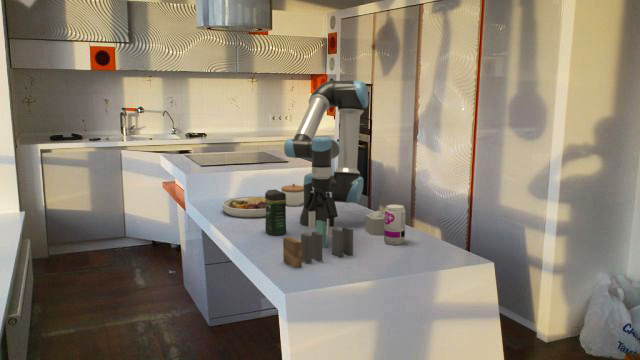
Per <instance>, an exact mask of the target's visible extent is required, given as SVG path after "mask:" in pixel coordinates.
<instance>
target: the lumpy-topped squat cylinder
mask: <svg viewBox="0 0 640 360" xmlns="http://www.w3.org/2000/svg"><path fill="white" fill-rule="evenodd" d="M384 225H385V211H383V212H382V211H381V210H376V211H374V212H373V211H372V212H370V213H367V214H366V215H365V233H368V234H369V235H371V236H384Z"/></svg>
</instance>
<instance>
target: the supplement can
mask: <svg viewBox="0 0 640 360" xmlns="http://www.w3.org/2000/svg"><path fill="white" fill-rule="evenodd" d="M384 212H385V225H384V235H383V236H384V237H383V241H384V242H385V244H388V245H392V246H398V245H399V246H400V245H403V244H404V243H405V240H406V239H405V238H406V208H405V206H404V205H402V204H396V203H395V204H387V205H386V207H385V209H384Z"/></svg>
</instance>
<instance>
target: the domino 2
mask: <svg viewBox="0 0 640 360" xmlns="http://www.w3.org/2000/svg"><path fill="white" fill-rule="evenodd" d="M315 231H316V232H318V233H321V234H323V249H325V248H327V226H326V222H324V221H321V220H316V227H315Z"/></svg>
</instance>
